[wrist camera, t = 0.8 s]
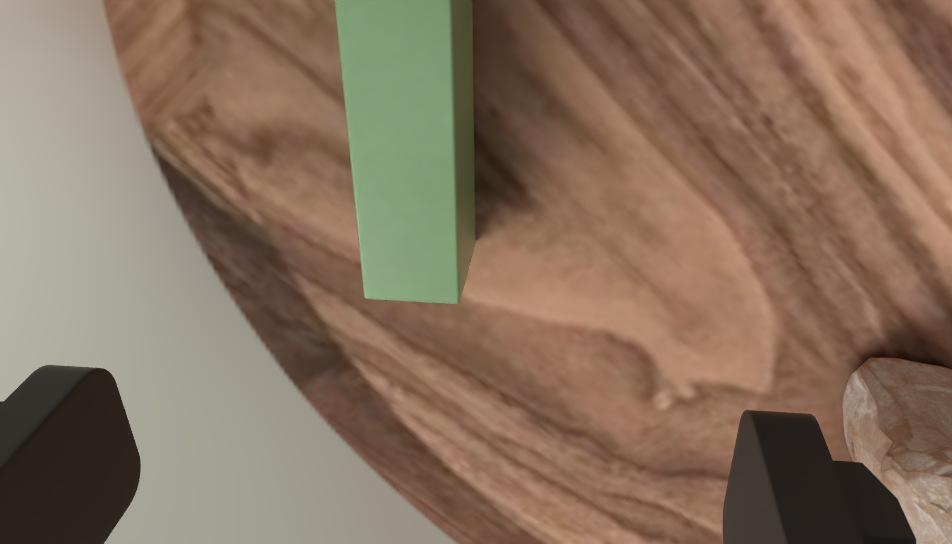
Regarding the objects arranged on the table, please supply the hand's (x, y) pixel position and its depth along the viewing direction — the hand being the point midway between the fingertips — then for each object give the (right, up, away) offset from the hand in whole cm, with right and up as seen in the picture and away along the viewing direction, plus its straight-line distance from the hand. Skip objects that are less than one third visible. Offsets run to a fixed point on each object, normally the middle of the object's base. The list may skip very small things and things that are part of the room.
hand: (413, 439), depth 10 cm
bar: (-1, +9, +14) cm, 17 cm away
